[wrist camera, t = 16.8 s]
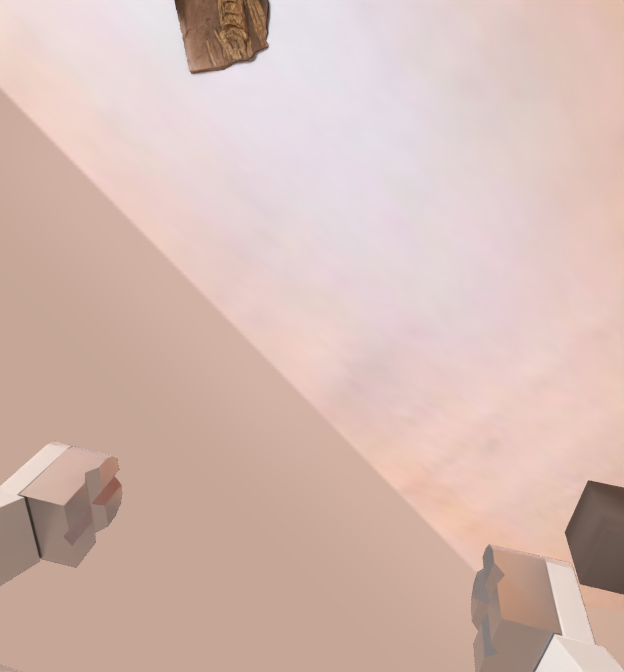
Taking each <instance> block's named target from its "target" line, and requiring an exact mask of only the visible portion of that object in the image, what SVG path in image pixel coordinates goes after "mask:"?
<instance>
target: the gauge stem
mask: <svg viewBox="0 0 624 672" xmlns="http://www.w3.org/2000/svg"><path fill="white" fill-rule="evenodd" d="M565 534H566V538H567V541H568V545H569V548H570V551H571V555H572V558H573V562H574V565H575V569H576V572H577V575H578V579H579V582H580V584H582V585H586V586H590V587H595V588H599V589H603V590H607V591H611V592H616V593H620V594H624V488H623V487H618V486H613V485H608V484H604V483H599V482H594V481H589V480H588V482H587V484H586V487H585V489H584V491H583V493H582V495H581V498H580V500H579V502H578V504H577V506H576V509H575V511H574V513H573V515H572V517H571V520H570V522H569V524H568V526H567V529H566V531H565Z"/></svg>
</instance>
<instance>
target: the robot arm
mask: <svg viewBox="0 0 624 672" xmlns="http://www.w3.org/2000/svg"><path fill="white" fill-rule="evenodd" d="M118 471H119V465H118V459H117V458H115V457H113V456H109V455H106V454H102V453H98V452H95V451H91V450H87V449H83V448H79V447H76V446H70V445H66V444H62V443H59V442H52V443H49V444H47V445H46V446H45V447H44V448H43V449H41V450H40V451H39V452H38V453H37V454H36V455H35V456H34V457H32V458H31V459H30V460H29V461H28V462H27V463H26V464H25V465H24V466H22V467H21V468H20V469H19V470H18V471H17V472H16V473H15V474H14V475H12V476H11V477H10V478H9V479H8V480H7V481H6V482H5V483H3V484H2V485H1V486H0V586H1V585H3V584H4V583H6V582H8V581H9V580H11V579H13V578H14V577H16V576H17V575H19V574H21V573H22V572H24V571H25V570H27V569H28V568H30V567H32V566H33V565H35V564H37V563H38V562H40V559H43V560H47V561H51V562H55V563H59V564H63V565H67V566H71V567H75V568H76V567H77V566H78V565H79V564H80V562H81V561H82V560H83V559H84V557H85V556H86V555H87V553H88V552H89V551H90V549H91V548H92V547H93V546H94V544H95V543H96V536H95V535H96V534H95V533H96V532H98V531H100V530H102V529H104V528H105V527H108V526H109V524H110V523H111V522H112V520H113V519H114V517H115V516H116V514H117V511H118V509H119V506H120V504H121V499H122V486H121V484H120V482H119V481H118V480H117V479H116V477H115V475H116V473H117V472H118ZM483 566H484V569H482V570H480V571H478V572H477V575H476V578H475V581H474V585H473V592H472V599H471V602H472V603H471V613H472V622H473V624H474V625H475V627H476V628H477V630H478V633H477V636H476V639H475V641H474V644H473V645H474V657H475V671H476V672H624V669H623V668H622V667H621V665H620V664H619V663H618V662H617V661H616V660H615V658H614V657H613V656H612V655H611V654H610V653H609V652H608V650H607V649H606V648H605V647H602V646H599V645H596V643H595V640H594V637H593V633H592V630H591V626H590V623H589V619H588V616H587V613H586V609H585V606H584V603H583V599H582V596H581V592H580V589H579V586H578V582H577V579H576V575H575V572H574V569H573V567H572V565H571V564H570V563H569V562H565V561H560V560H556V559H552V558H547V557H543V556H542V557H540V556H539V555H535V554H530V553H526V552H521V551H517V550H512V549H508V548H503V547H499V546H494V545H490V544H489V545H488V546H487V548H486V550H485V552H484V555H483ZM0 672H21V671H18V670H15V669H12V668H9V667H6V666H3V665H0Z"/></svg>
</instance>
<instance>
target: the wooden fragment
mask: <svg viewBox="0 0 624 672" xmlns="http://www.w3.org/2000/svg"><path fill="white" fill-rule="evenodd" d="M175 5H176V10H177V13H178V19H179V22H180V26H181V28H180V29H181V32H182V34H183V41H184V47H185V52H186V56H187V62H188V66H189V70H190V72H191V74H192V73H195V72H202V71H210V70H217V71H218V70H224V69H226V68H227V67H229V66H230V65H231V64H232V63H233V62H237V61H241V60H249V59H251V58H252V56H253V54H254V53H255V52H256V51H259V50H261V49H263V48H266V47H267V46H268V43H267V41H266V37H267V33H268V31H267V25H266V19H267V16H268V8H269V7H268V2H267V0H175Z"/></svg>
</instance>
